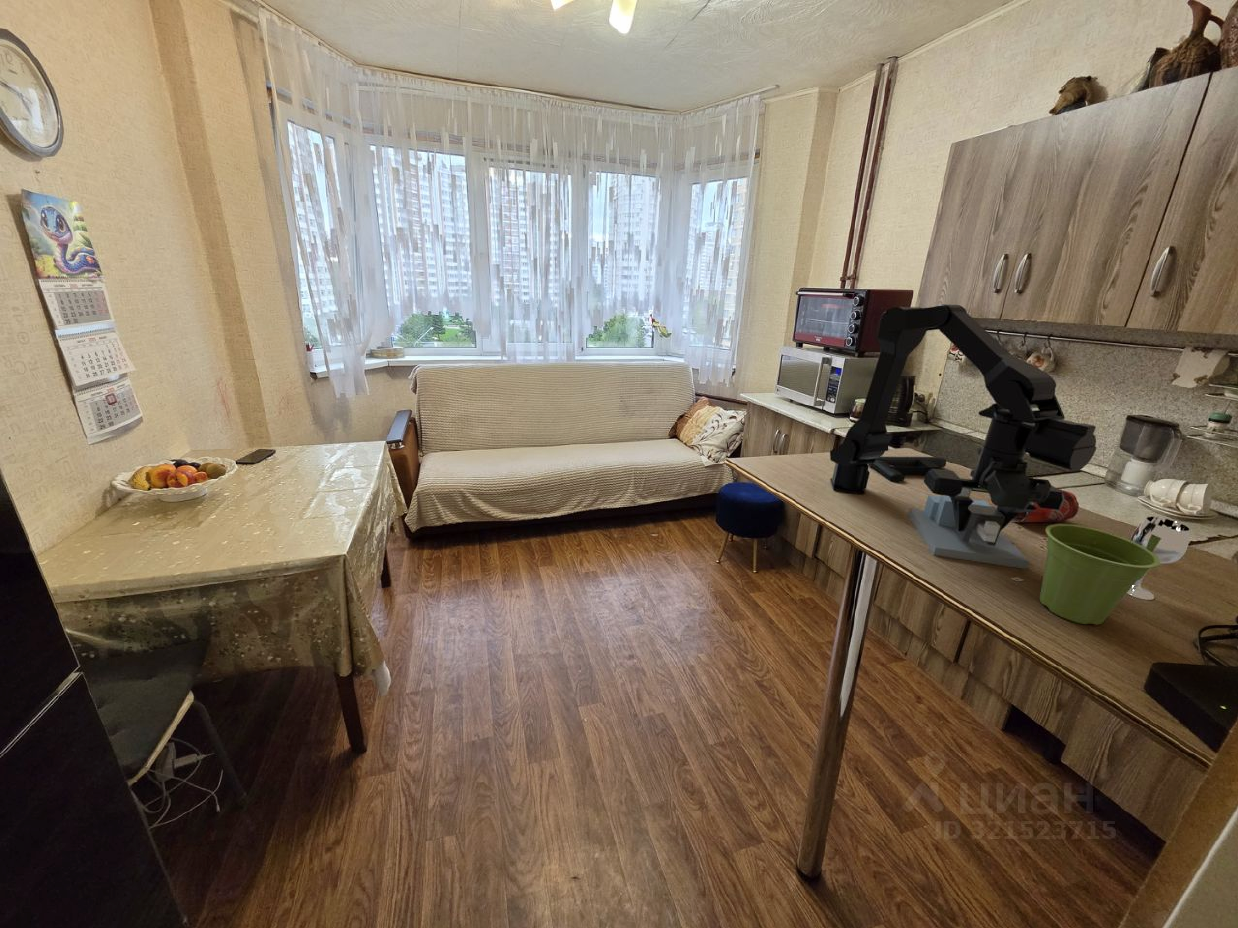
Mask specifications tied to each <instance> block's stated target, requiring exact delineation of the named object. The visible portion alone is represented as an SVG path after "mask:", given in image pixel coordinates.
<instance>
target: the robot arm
mask: <svg viewBox="0 0 1238 928" xmlns="http://www.w3.org/2000/svg"><path fill="white" fill-rule="evenodd" d="M877 330H878V331H877V338H876V339H877V341H878V345H879V346H878V347H879V355H878V359H877V362H876V366H875V369H874V372H873V375H872V377H871V382H870V385H869V388H868V389H867V390H868V391H867V394H866V397H865V400H864V403H863V407H862V409H861V413H860V416H859V418H858V419H857V420H856V421H855V422H854V423H853V424H852V425H851V427H850V428H848V430H847V432H846V434H845V436H844V439H843V440H842V443H840V444H839V445H837V446H836V447H834V448H833V449H831V450H830V451H829V457H830V459H829V460H830V461H831V462H834V463H835V464H834V468H833V473H832V478H830V479H829V480H830V481H831V482H830V481H829V482H830V485H831V487H832V490H833V491H837V492H843V493H844V492H845V493H852V494H859V495H864V494H865V493H866V491H865V490H866V489H867V486H868V482H869V478H870V471H869V468H870V466H869V465H868V464H871V463H872V464H874V463H875V462H876V460H877V459H878V457H883V455H884V454H885V452H888V451H889V445H890V442H891V440H892V438H893V433H892V432H888V429H887V427H886V420H887V418H888V414H889V413H890V409H891V407H892V404H893V401H894V397H895V394H896V392H897V389H898V386H899V383H900V380H901V377H902V374H903V372H904V368H905V365H906V363H907V361H908V360H907V359H908V357H909V356H910V355H911V354H912V352H913V351H915V349H916V348H917V347H918V346H919V345H920V344H921V343H922V340H923V338H924V337H925V335H926V334H927V332H928V331H930V332H931V331H937V330H938V331H939V332H940V333H942V334H943V335H944V337H946V338H947V340H948V341H949V342H950V343H951V344H952V345H953V346H955V348H956V349H957V350H958V351H959V352H961V354H962V355H963V356H964V357H965V358H966V359H967V360H968V361H969V362H970V363H971V364H972V365H973V366H974V367H975V368H976V369H977V370H978V371H979V372H980V374H981V375H982V376H983V381H984V385H985V389H986V390H987V392H988V394H990V396H991V398H992V400H993V401H994V403H992V404H991V405H990V406H989V407H987V408H985V409H983V410H980V411H978V415H979V416H980V417H984V418H988V419H991V420H990V424H989V427H988V430H987V433H986V436H985V440H984V442H983V445H982V447H978V449H977V451H976V453H977V454H978V456H979V458H978V460H977V463H976V467H975V469H971V470H970V474H969V475H970V476H971V478H972V479H970V478H961V477H959V476H958V474H956V472H955V471H953V470H948V469H947V470H946V469H940V468H939V469H931V470H929V471H928V472H927V473H926V475H925V476H924V479H923V483H924V484H925V485H926V486H927V488H928V489H929V490H930V492H931V493H933V494H935V495H936V496H948V497H950V498H951V501H952V505H953V510H954V516H955V523H956V528H957V530H958V531H961V530H962V528H963V526H964V523H965V519H966V515H967V511H968V507H969V506H970V505H971V504H972V503H973V500H974V499H973V498H971V497H970V496H971V493H972V492H975V493H976V492H978V493H986V494H989V496H990V501H991V503H992V504H993V505H995V506H996V509H997V510H998V511H1000V512H1001V513H1002V514H1003V515H1004V516H1005V519H1004V522H1003V525H1002V528H1001V531H1002V530H1003V529H1005V528H1006V526H1007V525H1008V524H1010V522H1012V521H1013V519H1016V518H1015V517H1016V516H1017V515H1018V514H1020V513H1022V512H1026V511H1034V510H1036V509H1037V508H1036V507H1035V506H1033V502H1035V503H1036V504H1037V505H1038V506H1039V507H1040V508H1047V509H1055V510H1060V509H1061V507H1062V505H1063V502H1064V495H1063V494H1062V492H1061V491H1059V490H1058V489H1059V488H1056V487H1055V486H1053V484H1051V482H1050V480H1049V479H1043V478H1037V477H1036V478H1034V477H1029V476H1027V472H1026V471H1027V469H1028V461H1026V460H1025V457H1026V455H1027V454H1028V456H1029V457H1030V458H1031V459H1034V460H1038V461H1040V462H1044V463H1046V464H1050V465H1054V466H1056V467H1060V468H1062V469H1066V470H1068V471H1069V470H1070V471H1072V472H1079V471H1080V470H1082V469H1083V468H1085V467H1086V466H1087V465H1088V464H1089V462H1090V461H1091V460H1092V458H1093V456H1094V455H1095V453H1096V451H1097V446H1096V444H1097V438H1096V435H1095V434H1094V432H1095V431H1096V428H1097V427H1096V426H1095V425H1093V424H1088V423H1079V422H1073V421H1069V420H1066V417H1065V414H1064V412H1063V410H1062V407H1061V405H1060V402H1059V400H1058V398H1057V395H1056V388H1057V383H1056V380H1055V379H1054V378H1053V377H1052V376H1051V375H1050V374H1048V373H1046V372H1045V371H1043V370H1042V369H1040V368H1039V367H1037V366H1035V365H1034V364H1031V363H1029V362H1027V361H1026V360H1023V359H1020V358H1018V357H1016V356H1015V355H1013V354H1011V353H1010V352H1009V351H1008V350H1007V348H1005V347H1004V346H1003V345H1002V344H1000V342H998V341H997V339H995V338H994V337H993V336H992V335H991V334H990V333H989V332H988V331H987V330H986V329H985V328H984V327H983V326H981V325H980V323H978V322H977V320H975V319H974V317H972V316H971V315H970V314H969V313H968V312H967V309H966V308H965V307H963V306H962V305H961V304H945V303H944V304H939V305H936V306H930V307H921V306H920V307H918V306H917V307H916V306H892V307H891V308H889V309H887V310H886V311H884V312H883V313H882V315H881V317H880V320H879V325H878V329H877ZM1032 409H1037V410H1032ZM1011 520H1012V521H1011Z"/></svg>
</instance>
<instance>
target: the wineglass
mask: <svg viewBox="0 0 1238 928" xmlns="http://www.w3.org/2000/svg"><path fill="white" fill-rule="evenodd" d="M1190 537H1191V528H1190V526H1187V525H1186V524H1184V523H1181V522H1179V521H1176V520H1173V519H1169V518H1164V517H1159V516H1146V517H1145V518H1144V519H1143V520H1142V521H1141V522H1140V523H1139V524H1138V526H1137V527H1136V528H1135V530H1134V531H1133V532H1132V534H1131V537H1130V539H1129V540H1130V541H1132V542H1134V543H1136V544H1139V545H1141V546H1143V547H1145V548H1146V549H1148V550H1149V551H1151V552H1152V553H1154V554H1155V555H1156V556H1157V557H1158V559H1159V560H1160V564H1171V563H1175V562H1178V561H1179V560H1180V559H1181V558H1182V557H1183V556H1184V555H1185V554H1186V551H1187V549H1188V546H1189V543H1190V542H1189V541H1190ZM1150 570H1151V569H1149V570H1148V571H1147V573H1148V572H1149V571H1150ZM1144 577H1145V575H1144V576H1143V577H1142V578H1141V579H1139V580H1137V581H1136V583H1135V584H1134V585H1133V586H1132V587H1131V589H1130V590H1129V591H1128V592H1127V593H1126V595H1128V596H1131V597H1133V598H1136V599H1140V600H1144V601H1145V600H1146V601H1153V600H1154V599H1155V595H1154V594H1153V593H1152V592H1151V591H1149V590H1147V589H1146V588H1144V587H1142V586H1141V584H1142V582H1143V579H1144Z"/></svg>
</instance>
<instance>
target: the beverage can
mask: <svg viewBox="0 0 1238 928" xmlns="http://www.w3.org/2000/svg"><path fill="white" fill-rule="evenodd" d="M1057 489H1058V490H1059V491H1061V492H1062V494H1063V495H1064V502H1063V505H1062V507H1061V509H1060V510H1055V509H1047V508H1040V507H1039V506H1038V505H1037V504H1036V503H1035V502H1033V506H1035V507H1036V508H1037V509H1036V510H1034V511H1026V512H1022V513H1020V514H1018V515H1017V516H1016V517H1015V518H1014V519H1021V520H1019V523H1061V522H1062V523H1063V522H1065V521H1067V520H1071V519H1073V518H1074V517H1076V516H1077V514H1078V513H1079V507H1080V506H1079V504H1080V503H1079V502H1078V499H1077V497H1076V495H1075V494H1074V493H1072V492H1070V491H1068V490H1067V491H1066V490H1062V489H1061V488H1057ZM1010 522H1013V523H1014V522H1015V523H1016V522H1017V521H1015V520H1014V521H1013V519H1012V520H1011V521H1010Z"/></svg>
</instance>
